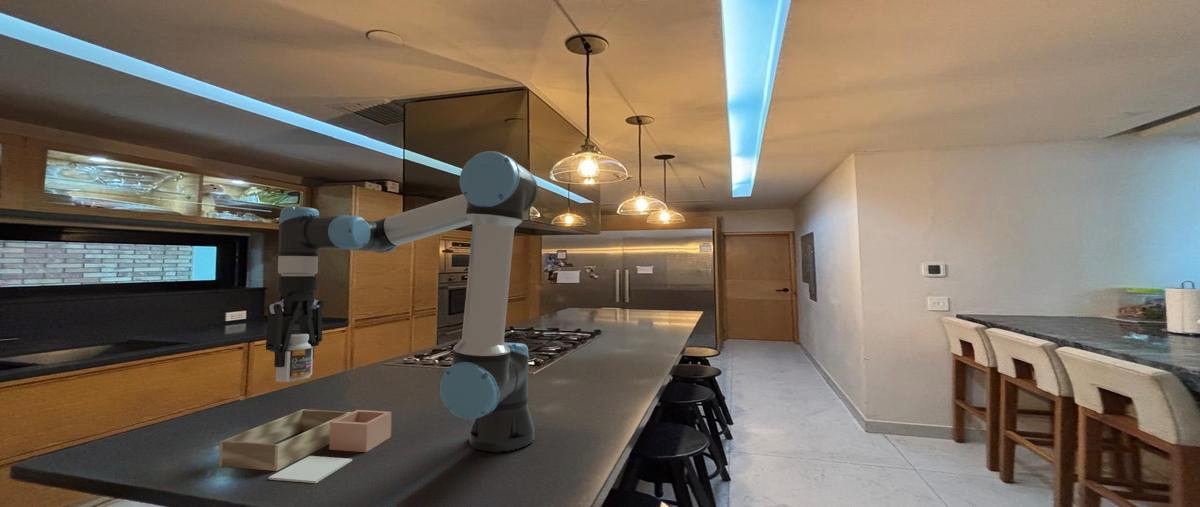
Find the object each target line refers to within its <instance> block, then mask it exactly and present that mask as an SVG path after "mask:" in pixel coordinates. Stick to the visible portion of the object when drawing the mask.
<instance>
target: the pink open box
mask: <svg viewBox="0 0 1200 507" xmlns="http://www.w3.org/2000/svg"><path fill="white" fill-rule="evenodd" d="M392 412H393V411H383V410H382V411H381V410H366V409H365V410H364V409H357V410H354V411H351V413H349V414H347V415H345V416H343V417H341V418H339V419H336V420H334V421H332V422H330V441H329V444H328V445H329V446H328V450H330V451H331V450H332V451H344V452H359V453H367V452H369V451H371V450H373V449H374V448H375V447H377V446H379V445H381V444H382V443H384V442H385V441H387V440H389V439H390V438H392Z"/></svg>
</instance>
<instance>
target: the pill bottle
mask: <svg viewBox="0 0 1200 507" xmlns="http://www.w3.org/2000/svg"><path fill="white" fill-rule="evenodd" d="M308 339H309V334H301V333H292V334H291V337H290V341H289V345H288V349H287V351H291V352H290V381H289V382H299V381H304V380H306V379H309V378H310V377H311V376H312V375H311V350H312V347H311V345H310V344H309V343H308Z"/></svg>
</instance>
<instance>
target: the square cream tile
mask: <svg viewBox="0 0 1200 507" xmlns="http://www.w3.org/2000/svg"><path fill="white" fill-rule="evenodd" d="M352 462H353V458H345V457H333V456H332V457H329V456H319V455H317V456H316V455H307V456H305V457H303V458H301V459H299V460H298V461H296V462H294V463H292V464H290V465H288V466H286V467H284V469H283V468H282V469H280V471H279V470H278V471H277V472H276V473H274V474H272V475H270V476H268V478H267V479H268V480H272V481H282V482H284V481H285V482H297V483H298V482H299V483H308V484H309V483H310V484H317V483H319V482H320V481H322V480H323V479H325V478H327V477H329V476H330V475H331V474H333V473H336V471H338V470H340V469H341V468H343V467H344V466H347V465H348V464H349V463H352Z"/></svg>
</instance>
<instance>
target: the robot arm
mask: <svg viewBox="0 0 1200 507" xmlns="http://www.w3.org/2000/svg"><path fill="white" fill-rule="evenodd" d="M459 188H460V191H461V193H462V194H459V195H455V196H453V197H449V198H446V199H445V198H444V199H443V200H440V201H436V202H432V203H430V204H429V203H428V204H426V205H423V206H420V207H417V208H413V209H410V210H407V211H403V212H401V213H398V214H393V215H390V216H387V217H385V218H381V219H378V220H374V221H373V220H367V219H364V217H361V216H358V215H349V214H342V215H324V216H322V215H321V216H320V211H319V210H318V209H316V208H313V207H306V206H285V207H283V208H282V209H281V210H280V212H279V213H280V215H279V221H278V224H277V225H278V256H277V257H278V259H277V273H278V274H279V275H280V276H278V277H276V278H277V279H276V280H277V281H276V282H277V284H276V292H278V294H279V295H280V296H279V298H278V301H276V302H275V303H269V304H266V306H265V307H266V311H267V328H266V339H265V340H266V341H265V350H266V351H270V352H272V353H273V354H274V363H273V364H274V368H275V383H288V382H291V381H290V352H291V351H287V349H288V345H289V341H290V337H291V334H293V333H292V332H293V330H294V326H295V322H296V321H298V326H299V330H300V334H309V339H308V343H309V344H310V345H311V347H312V350H311V375H310V376H312V375H313V367H314V366H313V363H314V361H313V360H314V358H315V347H318V346H319V345H320V343H321V342H322V341H323V308H324V304H325V301H324V300H320V299H319V300H317V299H315V296H314V293H317V291H318V290H317V289H318V277H317V276H315V275H317V274H318V273H319V272H318V271H319V270H318V268H319V250H342V251H343V250H345V251H357V252H358V251H360V252H374V253H389V252H393V251H395V250H396V249H397V248H398V247H399V246H401V245H404V244H407V243H411V242H415V241H418V240H422V239H424V238H428V237H432V236H436V235H438V234H442V233H447V232H448V231H449V232H450V231H453V230H456V229H460V228H463V227H466V226H469V225H472V228H471V229H472V230H471V231H472V232H471V240H470V249H469V250H470V252H469V261H468V270H467V271H468V272H467V281H466V290H465V291H466V292H465V302H464V312H463V321H462V322H463V324H462V334H461V335H462V336H461V339H460V341H459V342H457V343H456V344H455V345H454V346H453V348H452V357H451V358H452V359H451V365H450V366H449V367H448V368H447V369H446V370H445V372H444V373H443V375H442V377H441V380H440V383H439V393H440V398H441V400H442V403H443V405H444V406H445V407H446V408H447V410H449V412H450V413H451V414H453V415H454V416H456V417H458V418H460V419H464V420H473V422H472V425H471V428H470V430H469V439H468V440H469V443H470V444H469V446H470V447H471V446H472V447H471V448H473V447H474V448H473V449H475V448H476V449H475V450H477V449H479V450H478V451H480V450H483V451H482V452H485V451H491V452H490V453H502V452H501V451H507V452H510V451H509V450H513V451H515V450H514V449H517V450H519V449H518V448H521V447H523V446H526V445H528V444H530V443H531V442H532V441H533V440H534V441H535V426H534V422H533V419H532V416H531V413H530V410H529V406H528V404H529V403H528V402H529V400H528V399H529V398H528V397H529V360H530V355H529V347H528V345H526V343H521V342H505V334H506V332H505V331H506V322H507V311H508V310H507V309H508V300H509V299H508V298H509V289H510V279H511V278H510V277H511V268H512V267H511V266H512V259H513V258H512V257H513V247H514V246H513V245H514V238H515V237H514V235H515V230H516V228H517V227H518V226H519V225H520V224H522V223H523V218H524V214H525V213H527V212H529V211H530V209H532V208H533V206H534V205H535V203H536V201H537V198H538V192H539V188H538V184H537V180H536V178H535V176H534V175H533V174H532V172H531V171H529V170H528V169H527V168H526V167H523V166H522V165H520V163H517V162H516V161H515V160H514V158H512V157H511V156H509V155H507V154H503V153H502V152H499V151H494V150H492V151H491V150H487V151H486V150H485V151H483V152H479V153H477V154H475V155H474V156H472V157H471V158H470V159H469V160H468V161H467V162H466V163H465V164H464V165H463V168H462V169H461V172H460V174H459ZM534 441H533V442H534ZM533 442H532V443H533ZM532 443H531V444H532ZM531 444H530V445H531ZM528 446H529V445H528ZM526 447H527V446H526ZM521 449H522V448H521Z"/></svg>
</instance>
